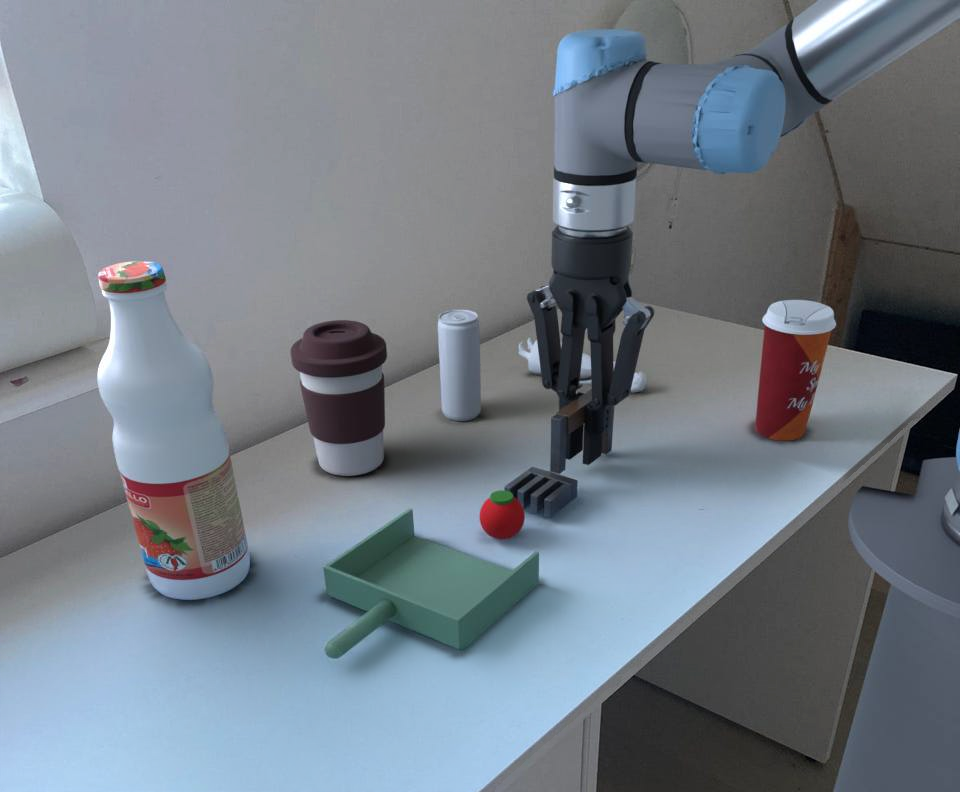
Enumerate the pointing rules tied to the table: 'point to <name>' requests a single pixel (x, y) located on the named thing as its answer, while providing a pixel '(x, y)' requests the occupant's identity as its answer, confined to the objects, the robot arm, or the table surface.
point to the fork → (556, 464)
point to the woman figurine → (534, 366)
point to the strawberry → (502, 515)
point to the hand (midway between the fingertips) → (582, 456)
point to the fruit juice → (169, 441)
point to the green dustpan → (421, 587)
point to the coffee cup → (343, 394)
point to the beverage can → (460, 364)
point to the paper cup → (791, 366)
